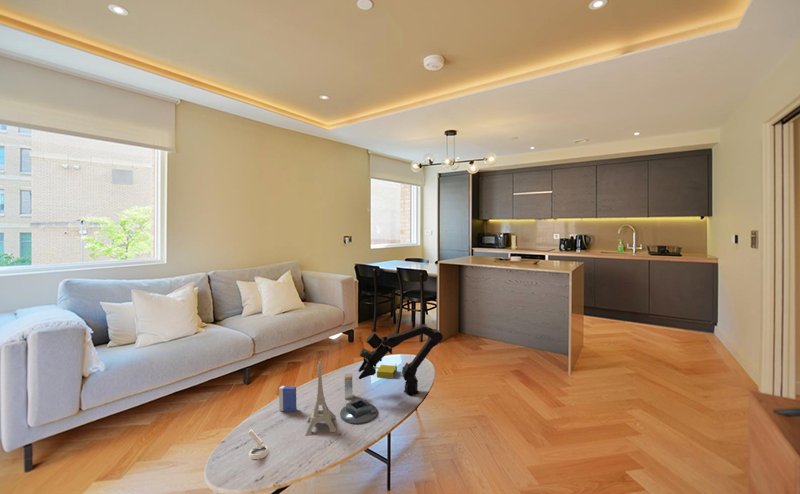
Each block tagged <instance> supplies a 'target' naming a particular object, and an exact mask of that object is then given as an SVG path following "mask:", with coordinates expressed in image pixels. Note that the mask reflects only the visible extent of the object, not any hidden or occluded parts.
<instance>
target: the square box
mask: <svg viewBox="0 0 800 494" xmlns="http://www.w3.org/2000/svg"><path fill="white" fill-rule="evenodd" d="M353 391H354V390H353V373H344V400H351V399H352V400H353V397H354V396H353V393H354V392H353Z"/></svg>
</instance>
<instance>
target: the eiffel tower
mask: <svg viewBox="0 0 800 494" xmlns="http://www.w3.org/2000/svg"><path fill="white" fill-rule="evenodd" d="M321 363H322V362H321V361H318V365H317V371H318V373H317V374H318V376H317V377H318V380H317V392H316V393H317V395H316V397H315V404H314V407H313V408H311V413H310V414H309V416H308V417H307V418H306V423H308V426H307V428H306V431H304V432H305V433H304V435H305V436H312V433H313V432H312V430H313V428H314V426H315V425H316V424H318V423H325V424H326V425H327V426H328V428H329V433H334V432H336V431H337V427H336V426H335V425H334V423H333V421H332V420H334V419H336V414H334V413H333V412H332V410H330V407H329V406H328V405H327V403H326V397H325V395H324V388H323V387H324V385H323V379H322V374H323V373H322V371H323V367H322V366H323V365H322V364H321ZM319 406H321V407H320V408H319Z"/></svg>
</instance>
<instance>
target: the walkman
mask: <svg viewBox="0 0 800 494" xmlns="http://www.w3.org/2000/svg"><path fill="white" fill-rule="evenodd" d="M278 389H279V390H278V397H279V400H278V401H279V407H278V408H279V412H287V413H288V412H289V413H295V412H296V411H297V386H294V385H291V386H289V385H281V386H280V387H279V388H278Z"/></svg>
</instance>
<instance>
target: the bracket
mask: <svg viewBox="0 0 800 494" xmlns="http://www.w3.org/2000/svg"><path fill="white" fill-rule="evenodd" d="M375 368H376V377H377V378H380V379H381V378H382V379H394V372H396V373H397V372H398V366H397V364H395V365H387V364H381V365H380V366H379V367H377V366H376V367H375Z"/></svg>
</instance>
